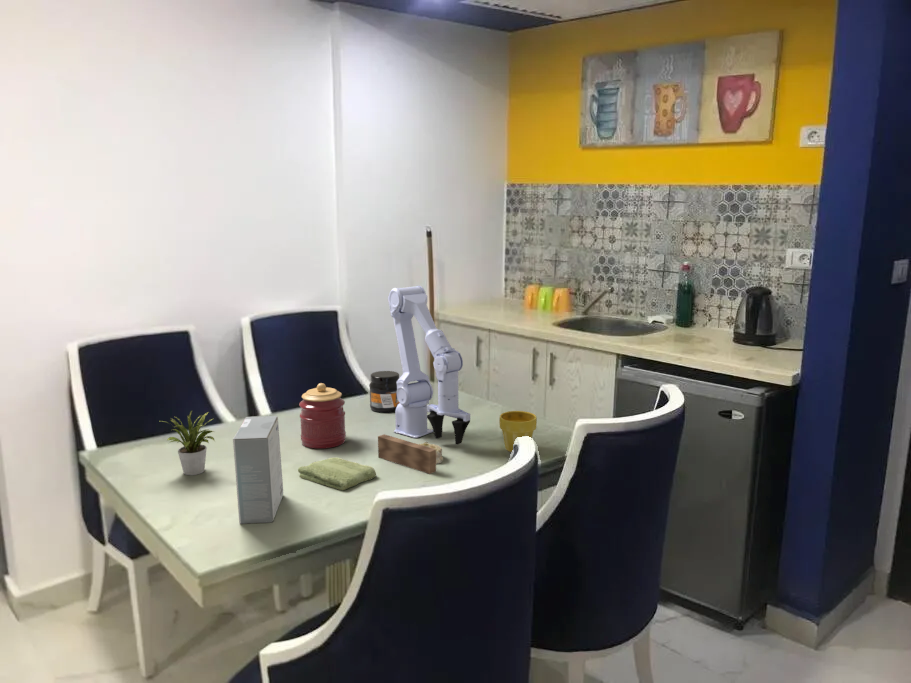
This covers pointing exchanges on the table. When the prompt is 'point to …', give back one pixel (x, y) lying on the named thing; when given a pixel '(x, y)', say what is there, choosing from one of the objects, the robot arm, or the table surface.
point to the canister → (322, 418)
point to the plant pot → (516, 426)
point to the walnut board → (407, 453)
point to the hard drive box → (258, 469)
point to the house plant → (192, 446)
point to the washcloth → (337, 473)
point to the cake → (438, 451)
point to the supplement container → (384, 391)
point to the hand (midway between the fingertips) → (448, 440)
